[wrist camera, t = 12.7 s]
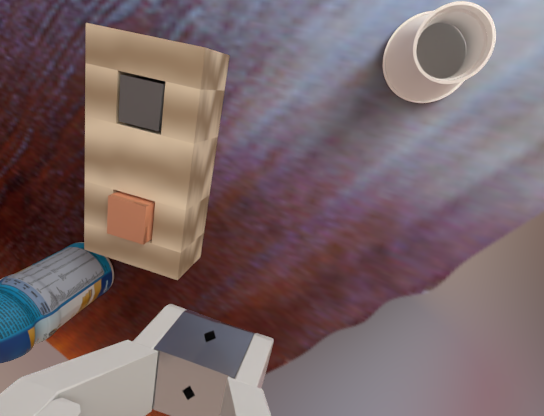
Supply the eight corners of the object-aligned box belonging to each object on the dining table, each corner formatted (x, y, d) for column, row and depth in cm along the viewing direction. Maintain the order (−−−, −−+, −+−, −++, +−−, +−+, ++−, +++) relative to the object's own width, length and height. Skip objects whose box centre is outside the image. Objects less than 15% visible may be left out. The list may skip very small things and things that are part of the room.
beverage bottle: (110, 241, 46) (-55, 337, 28) (122, 295, 49) (-23, 416, 30) (59, 238, 48) (-126, 325, 30) (73, 290, 51) (-91, 401, 32)
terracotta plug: (139, 183, 40) (108, 195, 35) (173, 192, 40) (146, 206, 35) (137, 216, 42) (106, 233, 37) (169, 226, 41) (143, 244, 36)
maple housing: (126, 33, 37) (85, 22, 31) (229, 55, 35) (205, 47, 30) (117, 230, 45) (84, 249, 40) (200, 256, 44) (177, 280, 38)
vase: (488, 27, 29) (547, -4, 20) (446, 113, 32) (481, 120, 23) (403, 2, 30) (422, -39, 21) (369, 88, 33) (373, 84, 24)
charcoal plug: (152, 77, 37) (120, 74, 32) (189, 86, 37) (162, 84, 32) (150, 118, 39) (118, 121, 34) (185, 126, 38) (158, 131, 33)
